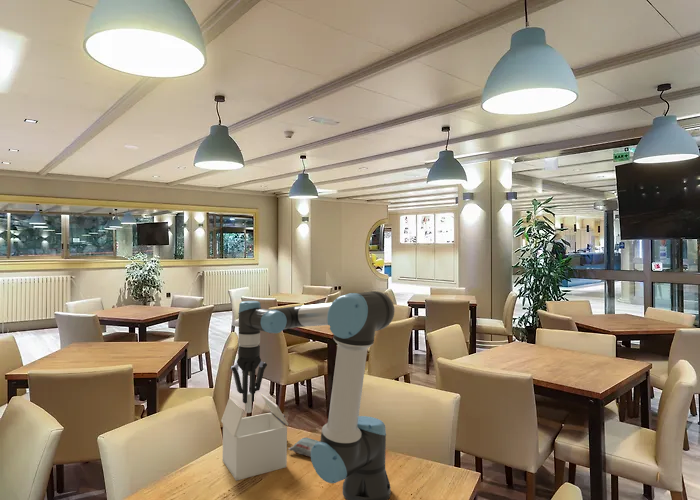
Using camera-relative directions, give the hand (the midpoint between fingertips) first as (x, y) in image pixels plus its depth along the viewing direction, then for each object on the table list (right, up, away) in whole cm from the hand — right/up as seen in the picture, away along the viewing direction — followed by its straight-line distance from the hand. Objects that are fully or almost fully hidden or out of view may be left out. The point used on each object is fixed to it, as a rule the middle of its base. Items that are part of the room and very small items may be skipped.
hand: (248, 411), depth 154 cm
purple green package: (+5, -19, +21) cm, 29 cm away
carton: (+2, -19, +1) cm, 19 cm away
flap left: (-5, -1, -3) cm, 5 cm away
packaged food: (+20, -20, +9) cm, 30 cm away
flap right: (+8, -1, +5) cm, 10 cm away
